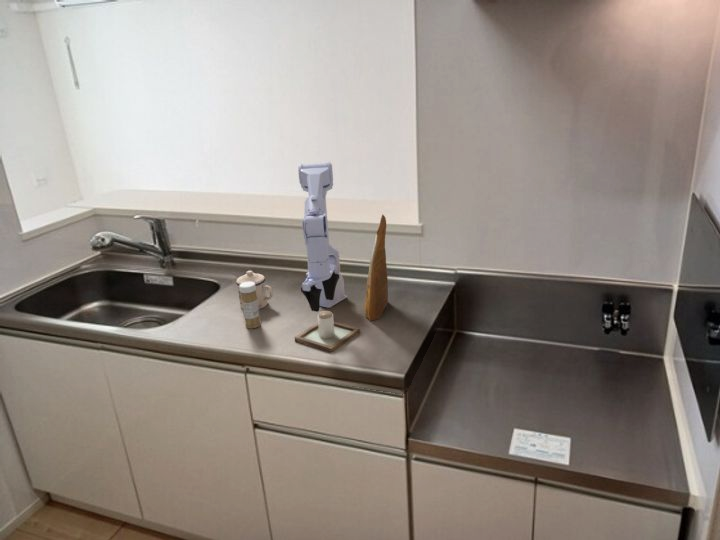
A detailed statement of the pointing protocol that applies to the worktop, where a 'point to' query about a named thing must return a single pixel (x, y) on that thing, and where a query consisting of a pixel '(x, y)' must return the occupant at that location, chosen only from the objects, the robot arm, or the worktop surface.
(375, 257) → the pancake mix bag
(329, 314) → the salt cellar
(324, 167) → the robot arm
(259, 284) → the teacup with lid
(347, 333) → the rest tray
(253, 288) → the sprinkles bottle
